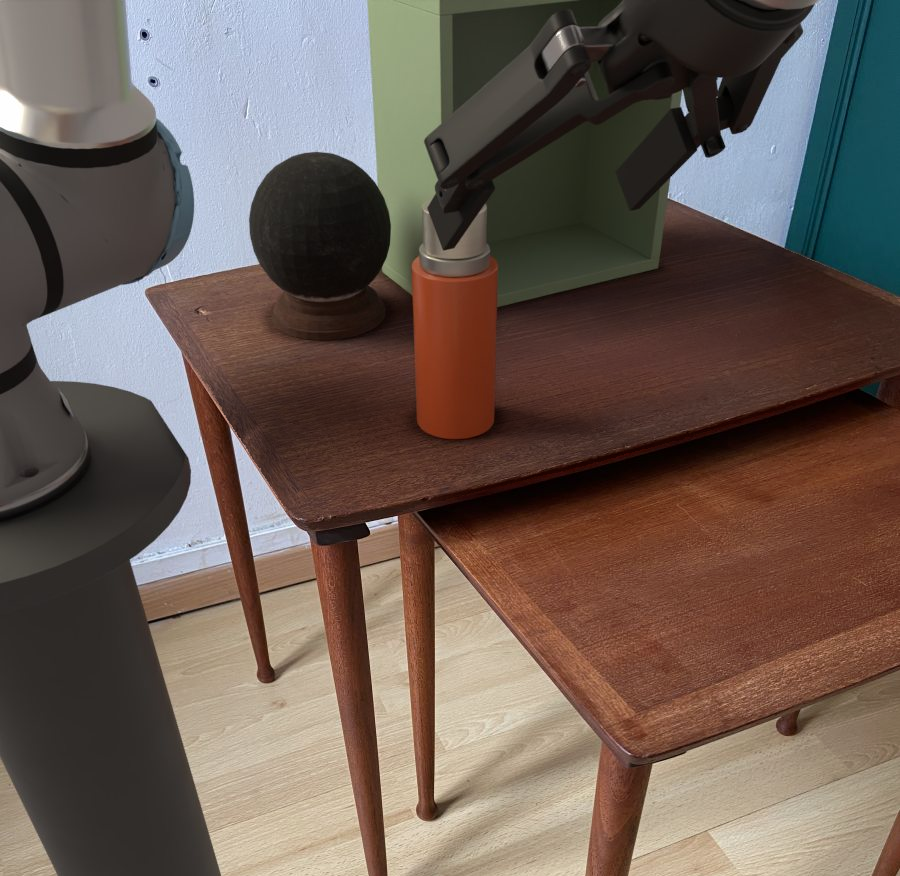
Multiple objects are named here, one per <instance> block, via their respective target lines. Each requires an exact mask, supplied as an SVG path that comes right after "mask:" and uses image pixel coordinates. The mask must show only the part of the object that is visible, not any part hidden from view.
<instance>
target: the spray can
mask: <svg viewBox="0 0 900 876" xmlns="http://www.w3.org/2000/svg"><path fill="white" fill-rule="evenodd" d="M431 201H432V199H430V200H428V201H426V202H425V203H424V204H423V206H422V223H423V244H422V245H421V246H420V248H419V257H417V258H416V259H415V260H414V261H413V263H412V293H413V296H412V314H413V315H412V321H413V344H414V347H413V348H414V372H415V374H414V375H415V377H414V378H415V402H416V406H415V407H416V422H417V425H418V426H419V428H420V429H421V430H422V431H423V432H425V433H426V434H428V435H430V436H433V437H436V438H440V439H445V440H464V439H466V440H467V439H471V438H474V437H477V436H480V435H483V434H484V433H486V432H487V431H489V430H490V429H491V428H492V427H493V425H494V423H495V407H496V406H495V405H496V402H495V401H496V365H497V364H496V363H497V362H496V361H497V327H498V326H497V323H498V320H497V319H498V307H497V287H498V263H497V261H496V260H495V259H494V258H493V257H492V256H490V247H489V245H488V244H487V243H486V224H487V206H486V204H485V205H484V206H483V207H482V209H481V210H480V212H479V213H478V215H477V216H476V218H475V219H474V220H473V222H472V223H471V225H470V226H469V228H468V229H467V231H466V232H465V233H464V235H463V236H462V238H461V239H460V241H459V242H458V244H457V245H456V246H455V248H453V249H449V250H444V251H443V249H442V246H441V244H440V241H439V238H438V236H437V233H436V230H435V228H434V225H433V222H432V220H431V217H430V214H429V212H428V209H427V207H428V206H429V204H430V202H431Z"/></svg>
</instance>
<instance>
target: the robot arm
mask: <svg viewBox="0 0 900 876" xmlns="http://www.w3.org/2000/svg"><path fill="white" fill-rule="evenodd" d="M819 1H820V0H623V1H622V2H621V3H620V4H619V5H618V6H617V7H616V8H615V9H614V10H613V11H612V12H611V13H609V14H608V15H607V16H606V17H604V18H603V19H602V20H601V22H600V23H599V24H598V26H597V27H578V26H577V23H576V20H575V18H574V15H573V12H572V11H571V10H570V9H562V10H560V11H558V12H556V13H555V14H553V15H552V16H551V17H550V18H549V19H548V21H547V22H546V23H545V25H544V26H543V27H542V29H541V30H540V32H539V33H538V34H537V36H536V37H535V38H534V40H533V41H532V43H531V44H530V45H529V46H528V47H527V48H526V49H525V50H524V51H523V52H521V53H520V54H519V55H518V56H517V57H516V58H515V59H514V60H512V61H511V62H510V63H509V64H508V65H507V66H506V67H505V68H503V69H502V70H501V71H500V72H499V73H498V74H497V75H496V76H494V77H493V78H492V79H491V80H490V81H489V82H488V83H487V84H485V85H484V86H483V87H482V88H481V89H480V90H479V91H478V92H476V93H475V94H474V95H473V96H472V97H471V98H470V99H468V100H467V101H466V102H465V103H464V104H463V105H462V106H461V107H459V108H458V109H457V110H456V111H455V112H454V113H453V114H452V115H450V116H449V117H448V118H447V119H446V120H445V121H444V122H443V123H441V124H440V125H439V126H438V127H437V128H436V129H435V130H434V131H432V132H431V133H430V134H429V135H428V136H427V137H426V138H425V140H424V143H425V146H426V149H427V152H428V154H429V157H430V160H431V162H432V165H433V168H434V171H435V173H436V176H437V178H438V181H437V183H436V184H435V192H436V194H435V196H434V197H433V199H432V201H431V202H430V204H429V206H428V207H427V209H428V212H429V214H430V217H431V220H432V222H433V225H434V228H435V230H436V233H437V236H438V238H439V241H440V244H441V246H442V249H443V251H444V250H449V249H453V248H455V246H456V245H457V244H458V242H459V241H460V239H461V238H462V236H463V235H464V233H465V232H466V231H467V229H468V228H469V226H470V225H471V223H472V222H473V220H474V219H475V218H476V216H477V215H478V213H479V212H480V210H481V209H482V207H483V206H484V205H485V203H486V202H487V200H488V199H489V197H490V196H491V194H492V193H493V192H494V190H495V186H494V183H493V181H492V180H493V179H494V178H496V177H498V176H499V175H501V174H502V173H504V172H506V171H507V170H509V169H510V168H512V167H514V166H515V165H517V164H518V163H520V162H522V161H523V160H525V159H526V158H528V157H530V156H531V155H533V154H534V153H536V152H538V151H539V150H541V149H542V148H544V147H546V146H547V145H549V144H550V143H552V142H554V141H555V140H557V139H558V138H560V137H562V136H563V135H565V134H566V133H568V132H570V131H571V130H573V129H574V128H576V127H578V126H579V125H581V124H583V123H584V122H590V123H592V124H594V125H599V124H601V123H603V122H605V121H606V120H608V119H609V118H611V117H613V116H614V115H616V114H618V113H619V112H621V111H622V110H624V109H626V108H627V107H629V106H631V105H632V104H634V103H637V102H640V101H643V100H649V99H653V100H659V99H665V98H670V97H671V95H672V94H674V93H677V92H679V91H681V90H682V95H683V99H684V102H685V103H684V104H685V107H686V110H687V114H686V115H685V114H684V112H683V109H682V106H680V107H678V108H672V109H670V110H669V111H668V112H667V114H666V115H665V116H664V117H663V118H662V119H661V120H660V121H659V123H658V124H657V125H656V126H655V127H654V128H653V129H652V131H651V132H650V133H649V134H648V135H647V136H646V137H645V138H644V140H643V141H642V142H641V143H640V144H639V145H638V146H637V148H636V149H635V150H634V151H633V152H632V153H631V154H630V155H629V157H628V158H627V159H626V160H625V161H624V162H623V163H622V165H621V166H620V167H619V168H618V169H617V170H616V171H615V173H616V175H617V178H618V180H619V183H620V186H621V188H622V191H623V194H624V196H625V199H626V202H627V204H628V207H629V210H630V211H632V210H637V209H640V208H641V207H642V206H643V205H644V204H645V203H646V202H647V201H648V200H649V199H650V198H651V197H652V196H653V195H654V194H655V193H656V192H657V191H658V190H659V189H660V188H661V187H662V186H663V185H664V184H665V183H666V182H667V181H668V179H669V178H670V179H671V177H673V176H674V175H675V174H676V172H678V171H679V169H680V168H681V167H683V166H684V165H685V164H686V163H687V162H688V161H689V160H690V158H691V157H693V156H694V155H695V153H696V152H697V151H698V148H699V147H700V148H701V149H702V153H703V155H704V157H705V158H706V159H708V158H712V157H715V156H718V155H719V154H720V153H722V152H724V150H725V149H726V143H725V141H724V139H723V136H722V131H724V130H727V129H729V131H730V133H731V135H737V134H741V133H743V132H744V133H745V131H747V130H748V129H749V127H751V125H752V124H753V123H754V120H755V118H756V116H757V113H758V110H759V109H760V107H761V105H762V103H763V100H764V98H765V96H766V93H767V91H768V90H769V87H770V85H771V83H772V80H773V79H774V76H775V74H776V72H777V69H778V68H779V66H780V63H781V61H782V59H783V58H784V57H785V55H786V54H788V51H790V50H791V48H793V47H794V45H795V44H796V43H797V42H798V40H799V39H800V38H801V37H802V36H803V34H804V29H803V26H802V22H803V21H804V20H805V19H807V17H808V16H809V15H810V13H811V12H812V10H813V8H814V7H815V5H816V3H818V2H819ZM129 41H130V40H129V27H128V13H127V0H0V522H3V521H7V520H11V519H14V518H17V517H20V516H23V515H26V514H28V513H31V512H33V511H36V510H38V509H40V508H42V507H44V506H46V505H48V504H50V503H52V502H53V501H55V500H57V499H58V498H60V497H61V496H63V495H64V494H65V493H67V492H68V491H69V490H71V489H72V488H73V487H74V486H75V485H76V484H77V483H78V482H79V481H80V480H81V479H82V477H83V476H84V475H85V473H86V472H87V470H88V468H89V465H90V462H91V450H90V446H89V443H88V440H87V436H86V433H85V431H84V429H83V427H82V425H81V423H80V421H79V420H78V418H77V417H76V416H75V414H74V413H73V412H72V410H71V409H70V406H69V403H68V401H67V399H66V398H65V396H64V395H63V394H62V392H61V391H60V389H59V391H60V394H61V395H60V394H59V392H58V391H57V390H56V388H55V387H54V386H53V384H52V383H51V382H50V381H51V380H50V378H49V377H48V376H47V375H46V373H45V372H44V370H43V369H42V368H41V365H40V364H39V361H38V357H37V354H36V352H35V349H34V346H33V342H32V339H31V336H30V332H29V329H28V324H30V323H31V322H33V321H36V320H37V319H40V318H42V317H45V316H47V315H50V314H53V313H55V312H57V311H59V310H62V309H64V308H67V307H70V306H72V305H75V304H77V303H79V302H82V301H84V300H88V299H89V298H93V297H95V296H97V295H100V294H103V293H104V292H107V291H109V290H112V289H114V288H117V287H119V286H124V285H126V286H127V285H130V284H134V283H137V282H140V281H142V280H144V278H146V277H148V276H150V275H151V274H152V273H153V272H154V271H157V270H158V269H160V268H162V267H166V266H167V265H168V264H170V263H172V262H173V261H174V260H175V259H176V258H177V257H178V256H179V255H180V254H181V252H183V249H184V248H185V247H186V244H187V242H188V240H189V237H190V234H191V231H192V227H193V223H194V217H195V193H194V186H193V180H192V176H191V173H190V168H189V166H188V165H187V164H182V162H181V155H182V153H183V151H182V149H181V147H180V145H179V143H178V142H177V139H176V137H174V135H173V134H172V132H171V131H170V130H169V128H168V127H167V126H165V125H164V123H163V122H162V121H161V120H160V119H158V118H157V111H156V108H155V106H154V104H153V103H152V101H151V100H150V99H149V98H148V97H147V96H146V95H145V94H144V93H143V92H142V91H141V90H140V89H139V88H138V87H136V85H134V82H133V81H132V68H131V66H132V65H131V55H130V54H131V53H130V42H129ZM595 61H598V64H599V69H600V73H601V76H602V79H603V81H604V84H605V87H606V89H607V92H608V94H609V95H607V96H606V97H604V98H603V99H601V100H599V99H598V97H597V94H596V91H595V89H594V86H593V83H592V81H591V78H590V75H589V73H588V70H589V68H590V67H591V63H593V62H595ZM719 79H721V80H720V84H719V86H718V80H719ZM61 396H62V397H61Z"/></svg>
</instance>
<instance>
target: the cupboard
mask: <svg viewBox="0 0 900 876" xmlns="http://www.w3.org/2000/svg"><path fill="white" fill-rule="evenodd" d="M366 1H367V20H368V38H369V39H368V40H369V56H370V73H371V75H370V76H371V88H372V89H371V93H372V110H373V127H374V128H373V129H374V146H375V148H374V149H375V164H376V182H377V183H376V184H377V186H378V188H379V190H380V191H381V193H382V195H383V197H384V199H385V202H386V205H387V208H388V211H389V215H390V222H391V237H390V247H389V251H388V254H387V258H386V260H385V262H384V264H383V266H382V268H381V270H382V273H383V274H384V275H386V276H387V277H388V278H389V279H391V280H392V281H393V282H394V283H396V285H399V286H400V287H401V289H403V290H405V291H406V292H407V293H409V294H410V295H411V296H412V297H413V293H412V263H413V261H414V260H415V259H416V258H417V257H419V248H420V246H421V245H422V244H423V223H422V206H423V204H424V203H425V202H426V201H428V200H430V199H433V197H434V196H435V194H436V192H435V184H436V183H437V181H438V178H437V176H436V173H435V171H434V168H433V165H432V162H431V160H430V157H429V154H428V152H427V149H426V146H425V143H424V140H425V138H426V137H427V136H428V135H429V134H430V133H431V132H432V131H434V130H435V129H436V128H437V127H438V126H439V125H440V124H441V123H443V122H444V121H445V120H446V119H447V118H448V117H449V116H450V115H452V114H453V113H454V112H455V111H456V110H457V109H458V108H459V107H461V106H462V105H463V104H464V103H465V102H466V101H467V100H468V99H470V98H471V97H472V96H473V95H474V94H475V93H476V92H478V91H479V90H480V89H481V88H482V87H483V86H484V85H485V84H487V83H488V82H489V81H490V80H491V79H492V78H493V77H494V76H496V75H497V74H498V73H499V72H500V71H501V70H502V69H503V68H505V67H506V66H507V65H508V64H509V63H510V62H511V61H512V60H514V59H515V58H516V57H517V56H518V55H519V54H520V53H521V52H523V51H524V50H525V49H526V48H527V47H528V46H529V45H530V44H531V43H532V41H533V40H534V38H535V37H536V36H537V34H538V33H539V32H540V30H541V29H542V27H543V26H544V25H545V23H546V22H547V21H548V19H549V18H550V17H551V16H552V15H553V14H555V13H556V12H558V11H560V10H562V9H570V10H571V11H572V12H573V15H574V18H575V20H576V23H577V26H578V27H597V26H598V24H599V23H600V22H601V20H602V19H603V18H604V17H606V16H607V15H608V14H609V13H611V12H612V11H613V10H614V9H615V8H616V7H617V6H618V5H619V4H620V3H621V2H622V1H623V0H366ZM588 73H589V75H590V78H591V81H592V83H593V86H594V89H595V91H596V94H597V97H598V99H599V100H601V99H603V98H604V97H606V96H607V95H609V94H608V92H607V89H606V87H605V84H604V81H603V79H602V76H601V73H600V69H599V64H598V61H595V62H593V63H591V67H590V68H589V70H588ZM682 96H683V90H681V91H679V92H677V93H674V94H672V95H671V97H670V98H665V99H659V100H653V99H649V100H643V101H640V102H637V103H634V104H632V105H631V106H629V107H627V108H626V109H624V110H622V111H621V112H619V113H618V114H616V115H614V116H613V117H611V118H609V119H608V120H606V121H605V122H603V123H601V124H599V125H594V124H592V123H590V122H584V123H583V124H581V125H579V126H578V127H576V128H574V129H573V130H571V131H570V132H568V133H566V134H565V135H563V136H562V137H560V138H558V139H557V140H555V141H554V142H552V143H550V144H549V145H547V146H546V147H544V148H542V149H541V150H539V151H538V152H536V153H534V154H533V155H531V156H530V157H528V158H526V159H525V160H523V161H522V162H520V163H518V164H517V165H515V166H514V167H512V168H510V169H509V170H507V171H506V172H504V173H502V174H501V175H499V176H498V177H496V178H494V179H493V180H492V181H493V183H494V186H495V190H494V192H493V193H492V194H491V196H490V197H489V199H488V200H487V202H486V203H485V204H486V206H487V224H486V243H487V244H488V245H489V247H490V256H492V257H493V258H494V259H495V260H496V261H497V263H498V287H497V308H499V307H504V306H508V305H511V304H516V303H520V302H524V301H525V302H526V301H529V300H533V299H537V298H540V297H546V296H549V295H554V294H557V293H562V292H565V291H571V290H574V289H579V288H582V287H587V286H591V285H594V284H599V283H604V282H607V281H611V280H615V279H620V278H625V277H628V276H633V275H637V274H640V273H645V272H649V271H652V270H657V269H659V265H660V257H661V252H662V251H661V249H662V243H663V237H664V236H663V234H664V228H665V221H666V215H667V214H666V213H667V205H668V199H669V192H670V191H669V190H670V184H671V177H670V178H669V179H668V181H667V182H666V183H665V184H664V185H663V186H662V187H661V188H660V189H659V190H658V191H657V192H656V193H655V194H654V195H653V196H652V197H651V198H650V199H649V200H648V201H647V202H646V203H645V204H644V205H643V206H642V207H641V208H640V209H637V210H632V211H630V210H629V207H628V204H627V202H626V199H625V196H624V194H623V191H622V188H621V186H620V183H619V180H618V178H617V175H616V173H615V171H616V170H617V169H618V168H619V167H620V166H621V165H622V163H623V162H624V161H625V160H626V159H627V158H628V157H629V155H630V154H631V153H632V152H633V151H634V150H635V149H636V148H637V146H638V145H639V144H640V143H641V142H642V141H643V140H644V138H645V137H646V136H647V135H648V134H649V133H650V132H651V131H652V129H653V128H654V127H655V126H656V125H657V124H658V123H659V121H660V120H661V119H662V118H663V117H664V116H665V115H666V114H667V112H668V111H669V110H670V109H672V108H678V107H681V102H682Z"/></svg>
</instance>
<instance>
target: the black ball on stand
mask: <svg viewBox="0 0 900 876" xmlns="http://www.w3.org/2000/svg"><path fill="white" fill-rule="evenodd" d="M250 204H251V205H250V210H249V215H248V216H249V217H248V225H249V238H250V241H251V246H252V250H253V253H254V256H255V257H256V260H257V261H258V264H259V265H260V267H261V268H262V270H263V271H264V273H265V274H266V275H267V276H268V278H269V279H270V280H271V282H273V283H274V284H275V285H276V286H277V287H278V288H279V289H281V290H282V292H281V293H280V294H279V295H278V296H277V298H276V300H275V302H274V304H273V305H272V306H271V310H270V313H271V318H272V319H271V320H272V324H273V325H274V327H275V328H276V329H277V330H279V331H280V332H281V333H283V334H286V335H288V336H291V337H294V338H298V339H304V340H313V341H333V340H342V339H347V338H352V337H356V336H359V335H363V334H365V333H367V332H370V331H372V330H373V329H375V328H377V327H378V326H379V325H380V324H381V323H382V322H384V319H385V317H386V304H385V301H384V300H383V298H382V297H381V296H380V295H379V293H378V292H377V290H376V289H374V288H373V287H372V286H369V285H370V284H371V283H372V282H373V281H375V279H376V277H377V276H378V275H379V273H380V272H381V270H382V266H383V264H384V262H385V260H386V258H387V254H388V251H389V247H390V237H391V222H390V215H389V211H388V208H387V205H386V202H385V199H384V197H383V195H382V193H381V191H380V190H379V188H378V184H377V183H376V181H374V179H373V178H372V177H371V176H370V175H369V173H368V172H366V171H365V170H364V169H363V168H362V167H360V166H359V165H358V164H357V163H355V162H353V160H350V159H348V158H345V157H343V156H341V155H339V154H335V153H333V152H332V153H331V152H323V151H310V152H303V153H299V154H295V155H292V156H290V157H288V158H286V159H285V160H283V161H282V162H281V161H280V162H279V163H278V164H276V165H275V166H274V167H273V168H272V169H270V171H268V173H266V175H265V176H264V178H263V179H262V181H260V183H259V185H258V187H257V188H256V190H255V194H254V196H253V199H252V201H251V203H250Z"/></svg>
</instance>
